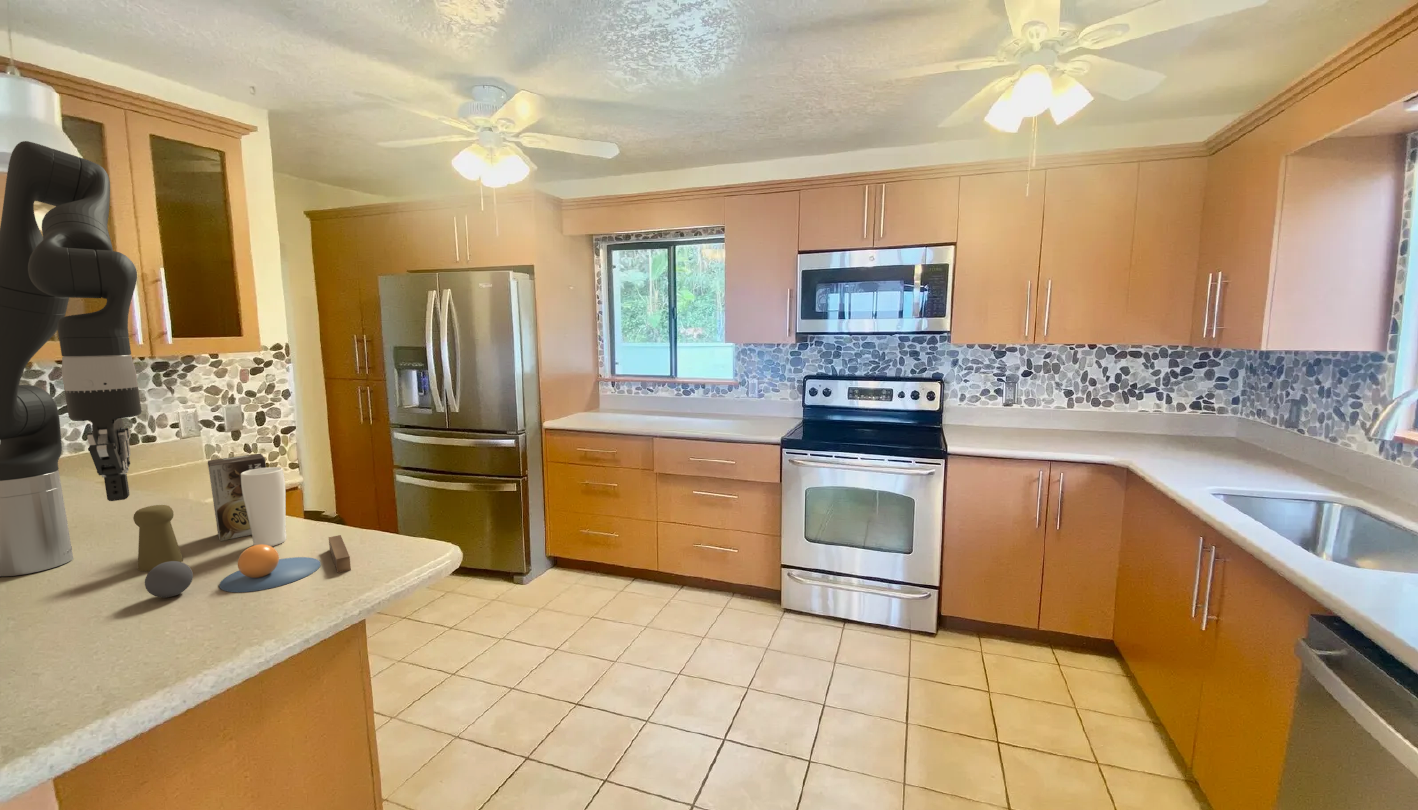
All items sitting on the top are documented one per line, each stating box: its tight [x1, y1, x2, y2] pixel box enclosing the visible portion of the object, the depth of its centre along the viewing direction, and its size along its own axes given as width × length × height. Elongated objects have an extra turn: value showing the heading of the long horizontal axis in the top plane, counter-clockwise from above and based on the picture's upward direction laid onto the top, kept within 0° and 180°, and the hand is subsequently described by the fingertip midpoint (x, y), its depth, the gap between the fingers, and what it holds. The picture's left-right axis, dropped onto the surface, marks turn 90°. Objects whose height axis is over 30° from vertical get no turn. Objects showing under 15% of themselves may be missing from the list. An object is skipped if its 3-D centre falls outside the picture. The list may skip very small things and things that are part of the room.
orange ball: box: [237, 544, 280, 578], centre depth 98 cm, size 6×6×6 cm
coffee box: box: [207, 453, 267, 542], centre depth 120 cm, size 9×6×16 cm
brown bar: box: [328, 534, 352, 574], centre depth 105 cm, size 2×14×2 cm, turn 38°
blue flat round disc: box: [219, 556, 321, 593], centre depth 99 cm, size 14×14×1 cm
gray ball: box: [144, 561, 194, 599], centre depth 91 cm, size 6×6×6 cm
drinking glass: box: [241, 466, 287, 547], centre depth 113 cm, size 7×7×15 cm
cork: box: [132, 504, 184, 572], centre depth 103 cm, size 6×6×11 cm
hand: (118, 499), depth 86 cm, fingers closed
